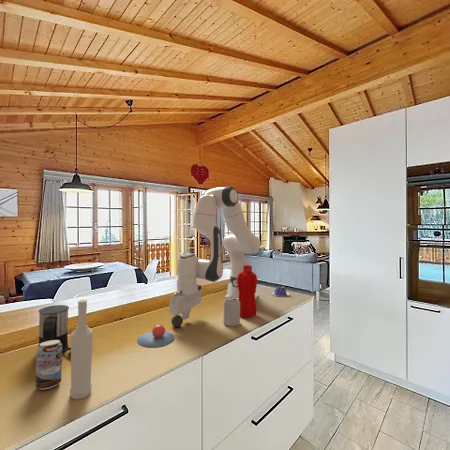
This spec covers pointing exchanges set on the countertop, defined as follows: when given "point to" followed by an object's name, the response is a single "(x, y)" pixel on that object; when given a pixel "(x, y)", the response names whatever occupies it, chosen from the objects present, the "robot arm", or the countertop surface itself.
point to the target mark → (155, 340)
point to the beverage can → (48, 364)
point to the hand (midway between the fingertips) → (185, 318)
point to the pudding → (280, 291)
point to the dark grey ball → (177, 321)
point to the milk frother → (54, 325)
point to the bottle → (81, 355)
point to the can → (231, 311)
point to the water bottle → (247, 292)
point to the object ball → (158, 331)
